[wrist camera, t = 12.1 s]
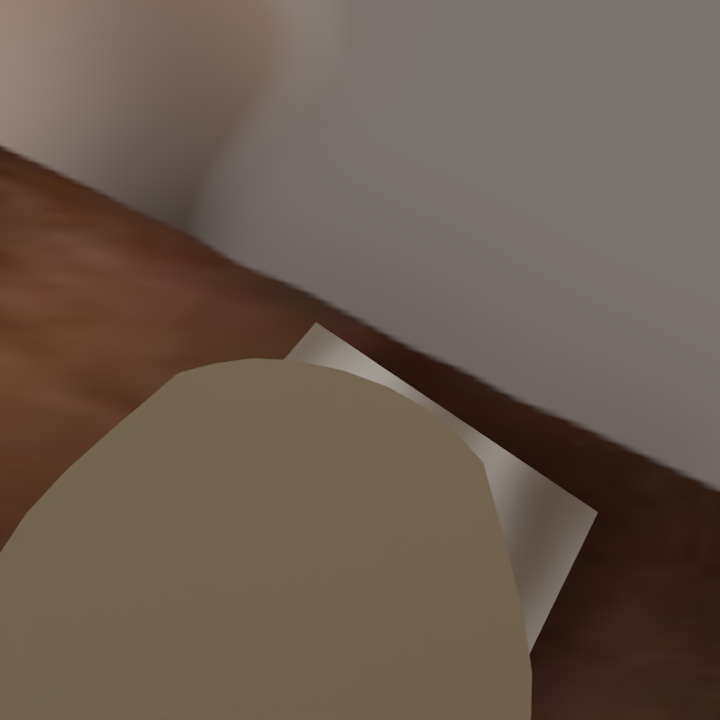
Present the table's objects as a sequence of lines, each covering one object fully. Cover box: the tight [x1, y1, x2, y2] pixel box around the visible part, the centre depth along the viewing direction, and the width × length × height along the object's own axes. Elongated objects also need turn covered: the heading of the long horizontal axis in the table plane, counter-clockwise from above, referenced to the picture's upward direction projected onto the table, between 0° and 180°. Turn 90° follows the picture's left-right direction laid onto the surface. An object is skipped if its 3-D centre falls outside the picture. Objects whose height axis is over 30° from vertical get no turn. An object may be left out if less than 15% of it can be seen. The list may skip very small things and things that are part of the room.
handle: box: [0, 358, 532, 720], centre depth 11 cm, size 5×6×15 cm
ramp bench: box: [284, 323, 598, 654], centre depth 24 cm, size 16×22×8 cm
